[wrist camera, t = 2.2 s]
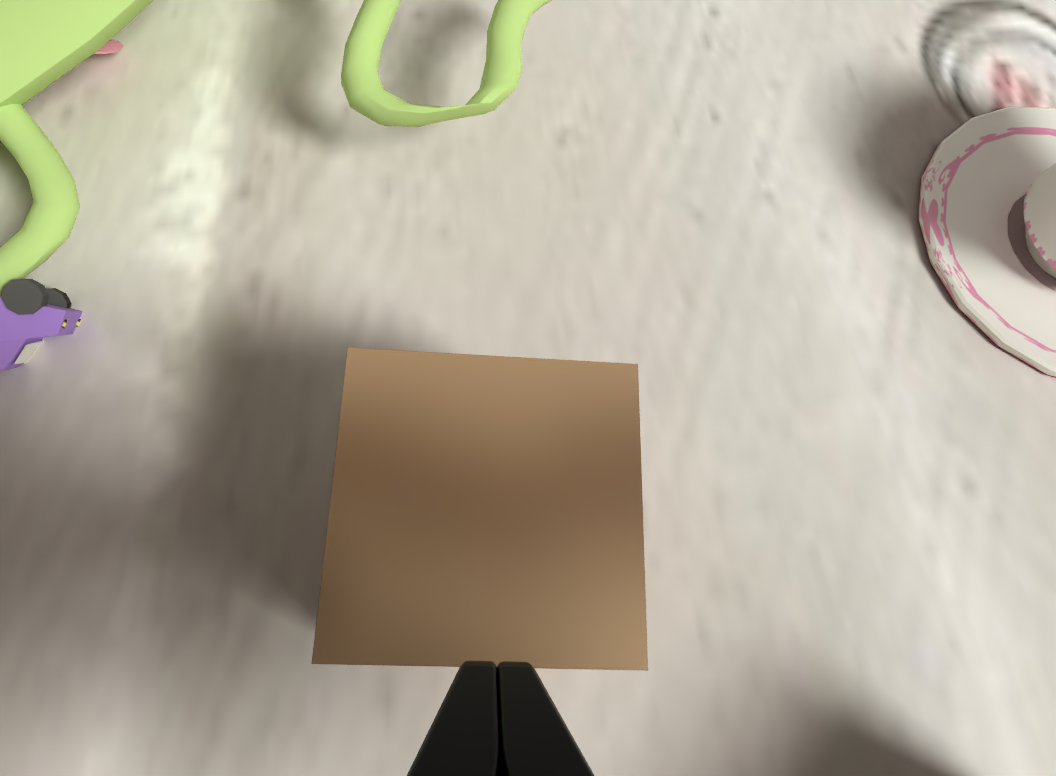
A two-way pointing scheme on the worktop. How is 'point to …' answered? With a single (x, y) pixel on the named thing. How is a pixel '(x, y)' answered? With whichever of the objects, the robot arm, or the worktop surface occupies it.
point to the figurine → (86, 28)
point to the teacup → (997, 226)
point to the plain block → (485, 514)
